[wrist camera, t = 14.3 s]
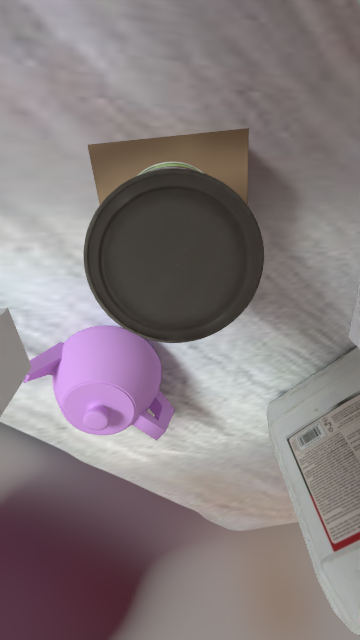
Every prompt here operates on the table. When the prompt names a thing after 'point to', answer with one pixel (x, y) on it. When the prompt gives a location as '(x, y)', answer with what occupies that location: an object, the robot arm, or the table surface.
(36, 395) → the table surface
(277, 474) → the table surface
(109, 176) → the walnut block
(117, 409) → the teapot
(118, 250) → the coffee can
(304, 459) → the jerry can
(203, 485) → the table surface
